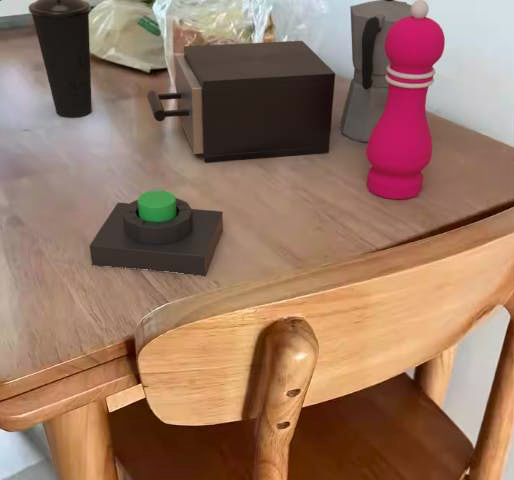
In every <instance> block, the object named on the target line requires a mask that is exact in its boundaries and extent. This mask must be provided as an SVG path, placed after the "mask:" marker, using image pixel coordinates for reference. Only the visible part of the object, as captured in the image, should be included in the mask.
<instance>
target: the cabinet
mask: <svg viewBox="0 0 514 480" xmlns="http://www.w3.org/2000/svg"><path fill="white" fill-rule="evenodd" d="M183 56H185V57H186V59H187V61H188V63H189V65H190V67H191V69H192V70H193V72H194V74H195V76H196V78H197V79H198V80H199V82H200V84H201V86H202V107H203V144H204V153H202V154H200V155H201V157H202V159H203V161H204V163H207V164H208V163H218V162H230V161H242V160H243V161H244V160H256V159H268V158H280V157H293V156H304V155H305V156H306V155H318V154H329V152H330V143H331V131H332V130H331V129H332V119H333V118H332V117H333V106H334V97H335V96H334V93H335V84H336V83H335V82H336V72H335V71H334V70H333V69H331V68H330V66H329V65H327V64H326V62H325V61H324V60H322V58H321V57H319V56H318V54H317V53H315V52H314V50H312V49H311V48H310V47H309V45H307V44H306V43H305V42H304V40H290V41H289V40H287V41H285V40H284V41H269V42H268V41H267V42H248V43H246V42H245V43H226V44H203V45H185V46H183Z"/></svg>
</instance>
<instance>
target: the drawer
mask: <svg viewBox="0 0 514 480" xmlns="http://www.w3.org/2000/svg"><path fill="white" fill-rule="evenodd" d="M174 56H175V72H176V73H175V76H176V78H175V80H176V92H169V93H158V92H157V91H155V90H150V91H149V92H147V95H146V97H147V100H148V103H149V106H150V110H151V112H152V114H153V117H154V119H155V121H157V122H162V121H164V120H165V119H166V118H171V117H172V118H173V117H174V118H175V117H178V119H179V123H180V125H181V127H182V129H183V131H184V133H185V136H186V139H187V141H188V143H189V145H190V148H191V150H192V153H193V155H201V154H202V153H204V144H203V107H202V86H201V84H200V82H199V80H198V79H197V78H196V76H195V74H194V72H193V70H192V69H191V67H190V65H189V63H188V61H187V59H186V57H185V56H184V55H174ZM165 100H177V109H168V110H165V109H164V106H163V104H162V101H165Z"/></svg>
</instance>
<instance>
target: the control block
mask: <svg viewBox="0 0 514 480" xmlns="http://www.w3.org/2000/svg"><path fill="white" fill-rule="evenodd" d="M175 198H176V212H177V214H176V217H174V218H172V219H170V220H167V221H161V222H154V221H145V220H143V219H141V218H140V217H139V210H138V199H136V200H133V201H132V202H117V203H116V205H115V206H114V208H112V210H111V212H110V213H109V214H108V216H107V218H106V219H105V221H104V223H103V224H102V226H101V227H100V229H99V230H98V232H97V233H96V235H95V236H94V238H93V240H92V241H91V242H90V244H89V252H90V260H91V265H92V266H93V265H95V266H94V267H103V266H110V267H109V268H113V267H123V268H122V269H124V268H125V267H126V268H136V269H138V268H139V269H148V270H150V269H151V270H156V271H169V272H178V273H184V274H183V275H185V274H194V275H193V276H196V275H201V276H200V277H206V276H205V275H207V273H208V271H209V268H210V265H211V262H212V260H213V258H214V255H213V254H215V251H216V249H217V247H218V244H219V241H220V239H221V236H222V233H223V231H224V222H223V221H224V218H223V217H224V213H223V211H222V210H210V209H209V210H207V209H197V208H192V207H191V206H190V204H189V203H188V202H187V201H185V200H182V199H180V198H178V197H175ZM216 246H217V247H216ZM96 265H97V266H96ZM111 266H112V267H111Z"/></svg>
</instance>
